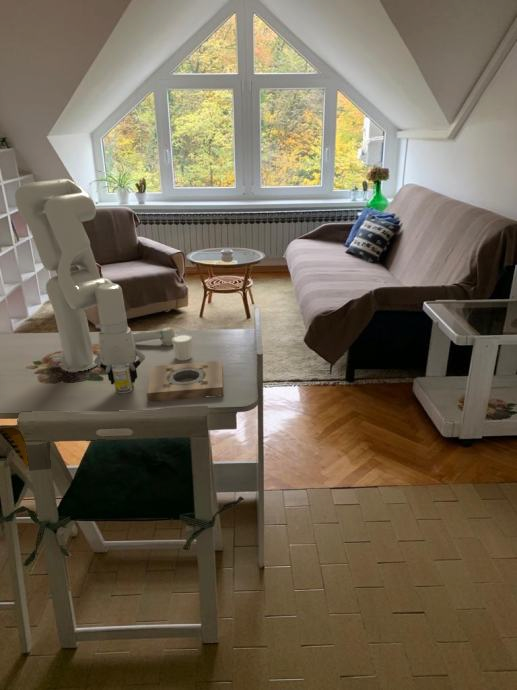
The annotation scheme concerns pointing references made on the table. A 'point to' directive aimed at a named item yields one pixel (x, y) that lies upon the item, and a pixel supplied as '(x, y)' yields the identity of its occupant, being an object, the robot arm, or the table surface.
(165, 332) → the grey elongated piece
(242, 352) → the table surface
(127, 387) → the supplement bottle
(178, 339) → the beige cylinder
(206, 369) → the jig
